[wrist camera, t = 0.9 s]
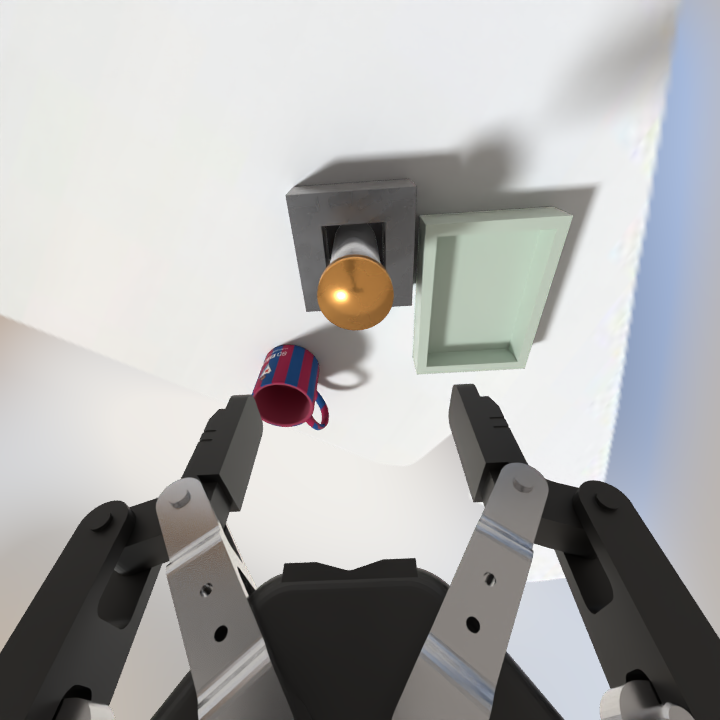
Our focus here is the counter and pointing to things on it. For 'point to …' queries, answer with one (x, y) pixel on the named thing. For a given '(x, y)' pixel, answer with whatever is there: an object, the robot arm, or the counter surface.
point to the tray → (483, 286)
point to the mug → (289, 388)
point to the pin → (355, 281)
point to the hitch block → (354, 206)
